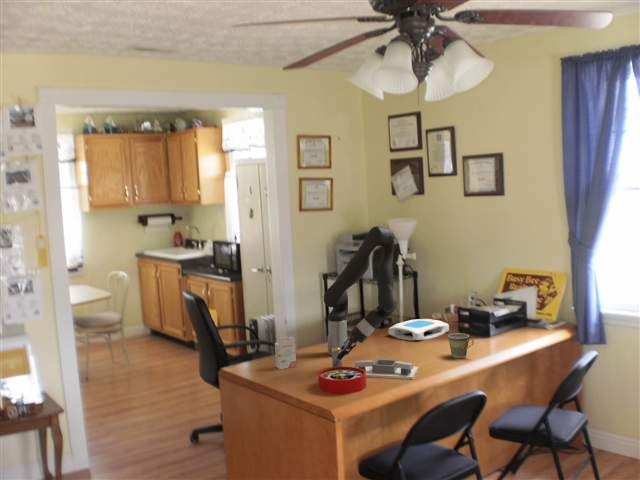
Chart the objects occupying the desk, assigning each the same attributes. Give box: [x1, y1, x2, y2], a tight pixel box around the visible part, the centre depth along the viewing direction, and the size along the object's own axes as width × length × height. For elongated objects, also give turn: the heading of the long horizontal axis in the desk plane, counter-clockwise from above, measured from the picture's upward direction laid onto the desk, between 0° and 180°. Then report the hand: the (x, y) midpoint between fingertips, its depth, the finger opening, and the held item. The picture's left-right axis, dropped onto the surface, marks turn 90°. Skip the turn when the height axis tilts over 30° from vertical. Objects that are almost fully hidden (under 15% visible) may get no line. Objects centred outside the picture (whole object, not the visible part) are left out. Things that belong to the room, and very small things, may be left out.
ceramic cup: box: [447, 333, 474, 359], centre depth 316 cm, size 13×10×10 cm
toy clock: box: [317, 366, 367, 395], centre depth 277 cm, size 20×6×20 cm
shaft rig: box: [354, 358, 419, 380], centre depth 294 cm, size 27×16×6 cm, turn 73°
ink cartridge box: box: [274, 335, 297, 370], centre depth 309 cm, size 9×5×15 cm, turn 117°
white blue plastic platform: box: [387, 318, 450, 342], centre depth 365 cm, size 21×28×6 cm
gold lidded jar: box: [331, 347, 343, 368], centre depth 302 cm, size 4×4×10 cm
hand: (338, 355), depth 302 cm, fingers open, 8 cm apart
